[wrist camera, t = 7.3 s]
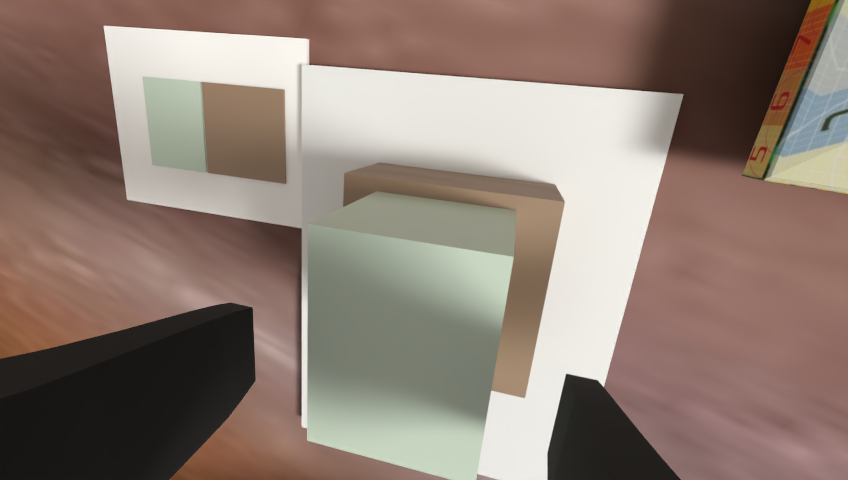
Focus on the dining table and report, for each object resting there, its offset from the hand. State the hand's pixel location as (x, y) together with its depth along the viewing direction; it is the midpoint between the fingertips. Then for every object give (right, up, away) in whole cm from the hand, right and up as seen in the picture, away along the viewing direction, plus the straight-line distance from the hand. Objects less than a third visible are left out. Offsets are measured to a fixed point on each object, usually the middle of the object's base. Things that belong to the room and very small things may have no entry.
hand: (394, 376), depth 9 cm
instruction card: (-9, +8, +10) cm, 16 cm away
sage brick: (+1, +1, +5) cm, 5 cm away
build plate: (+2, +1, +9) cm, 9 cm away
